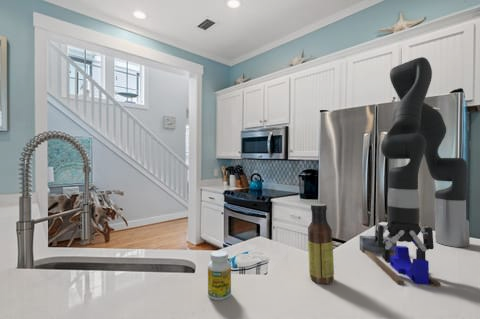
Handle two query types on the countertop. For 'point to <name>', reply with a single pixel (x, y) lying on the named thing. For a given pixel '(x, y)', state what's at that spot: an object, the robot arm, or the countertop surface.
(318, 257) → the sauce bottle
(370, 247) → the guide channel
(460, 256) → the countertop surface
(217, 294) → the supplement bottle
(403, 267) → the cable clip
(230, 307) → the countertop surface
